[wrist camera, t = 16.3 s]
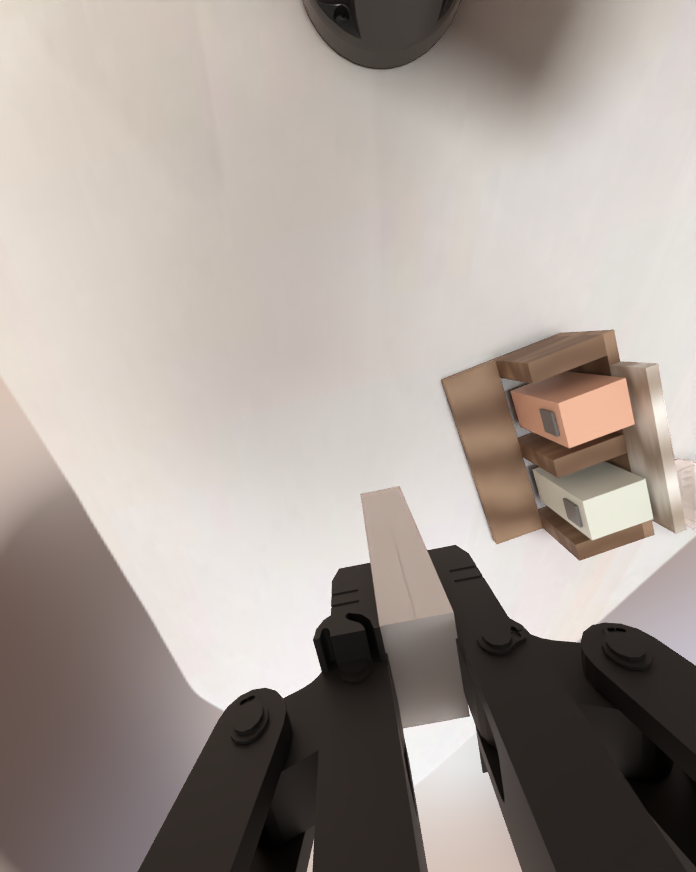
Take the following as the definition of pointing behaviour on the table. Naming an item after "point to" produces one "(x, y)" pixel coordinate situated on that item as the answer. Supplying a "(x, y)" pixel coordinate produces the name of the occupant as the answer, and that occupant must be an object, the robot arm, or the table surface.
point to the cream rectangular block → (596, 498)
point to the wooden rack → (503, 452)
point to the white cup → (687, 489)
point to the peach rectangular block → (574, 407)
